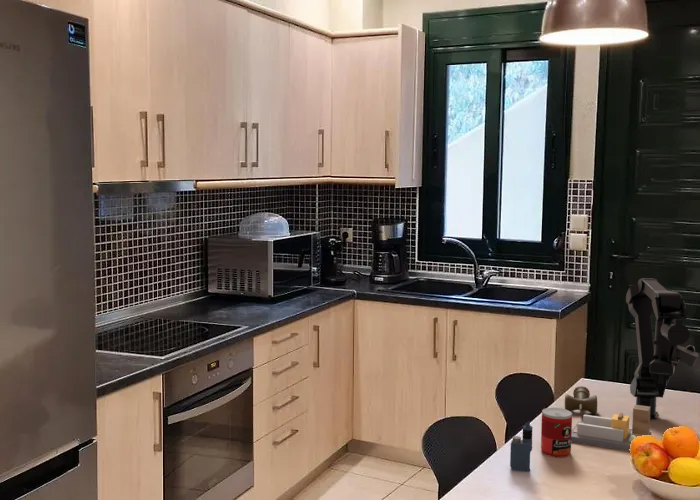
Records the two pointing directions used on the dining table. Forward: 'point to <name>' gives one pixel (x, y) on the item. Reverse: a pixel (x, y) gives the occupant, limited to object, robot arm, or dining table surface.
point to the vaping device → (521, 450)
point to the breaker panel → (601, 433)
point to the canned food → (556, 432)
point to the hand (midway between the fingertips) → (663, 390)
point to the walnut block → (641, 420)
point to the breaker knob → (621, 423)
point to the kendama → (581, 401)
